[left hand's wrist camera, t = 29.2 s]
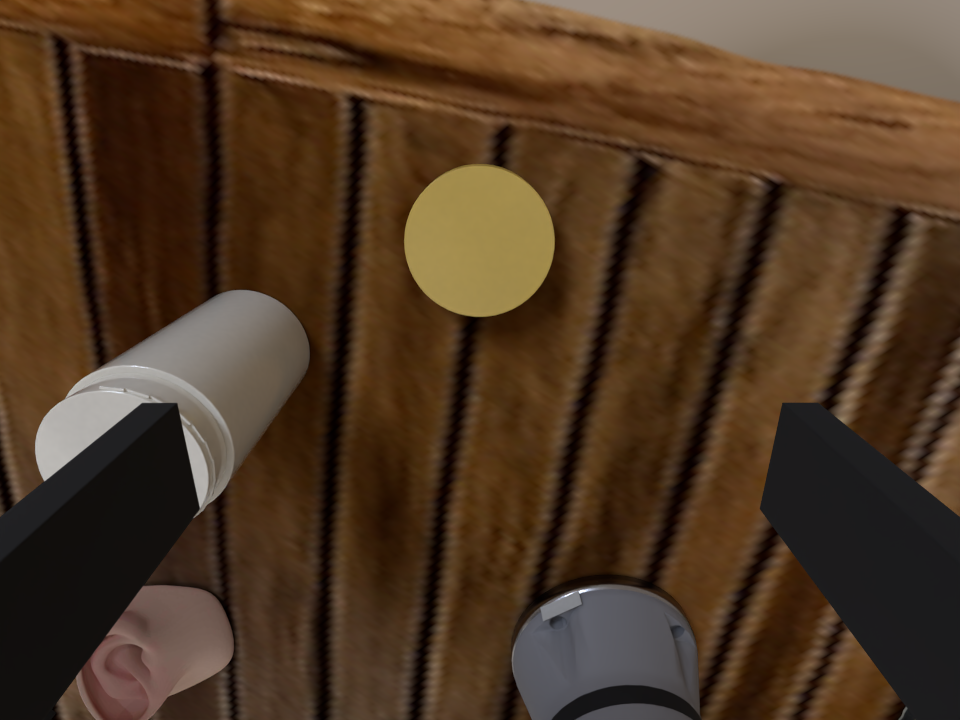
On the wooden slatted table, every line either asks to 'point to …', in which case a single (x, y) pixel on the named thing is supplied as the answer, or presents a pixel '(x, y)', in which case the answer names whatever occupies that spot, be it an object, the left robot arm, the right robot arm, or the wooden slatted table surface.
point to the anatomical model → (156, 652)
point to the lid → (479, 240)
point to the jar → (192, 386)
